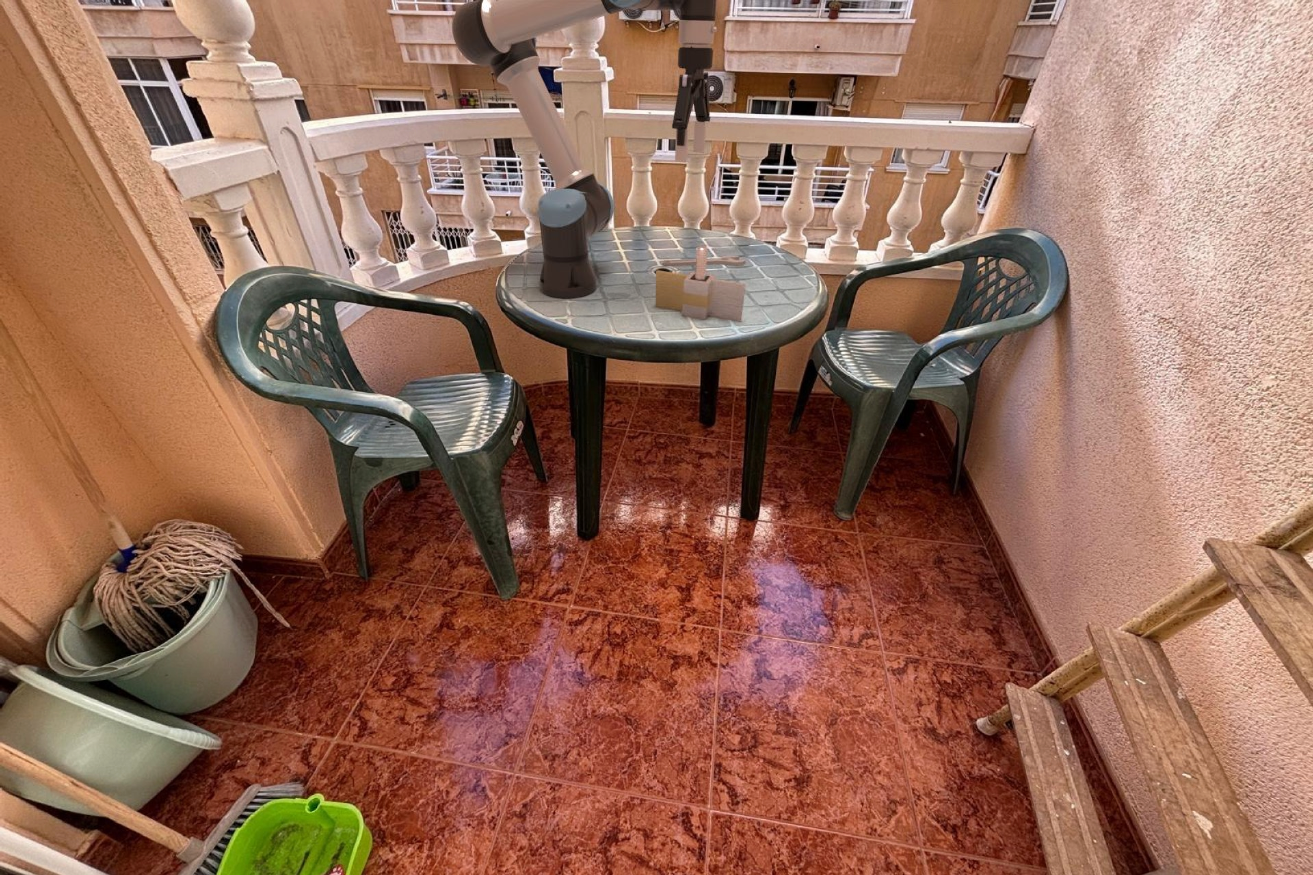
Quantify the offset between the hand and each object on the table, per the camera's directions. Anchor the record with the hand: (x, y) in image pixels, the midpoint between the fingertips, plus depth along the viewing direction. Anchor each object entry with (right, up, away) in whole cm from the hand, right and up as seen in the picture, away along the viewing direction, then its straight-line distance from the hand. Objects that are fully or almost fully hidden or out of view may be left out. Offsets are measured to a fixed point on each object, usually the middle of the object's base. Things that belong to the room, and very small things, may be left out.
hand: (690, 157), depth 127 cm
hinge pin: (+2, -36, +5) cm, 37 cm away
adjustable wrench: (+6, -15, +34) cm, 38 cm away
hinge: (+2, -36, +5) cm, 37 cm away
